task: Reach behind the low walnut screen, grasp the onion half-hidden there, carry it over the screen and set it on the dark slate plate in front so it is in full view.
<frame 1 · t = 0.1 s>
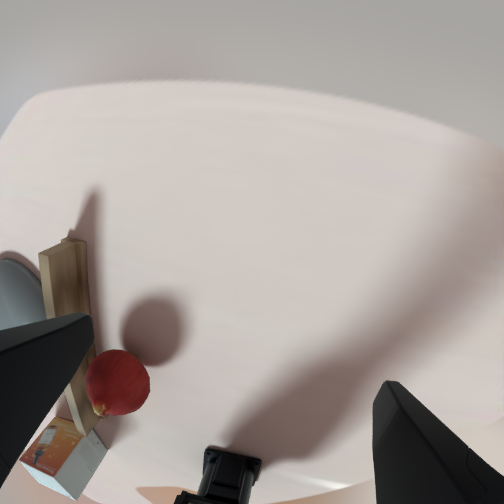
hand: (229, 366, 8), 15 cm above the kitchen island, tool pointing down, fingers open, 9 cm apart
walnut screen: (85, 342, 28), on the kitchen island
slate plate: (22, 315, 29), on the kitchen island
small box: (81, 432, 35), on the kitchen island
onion: (135, 358, 28), on the kitchen island
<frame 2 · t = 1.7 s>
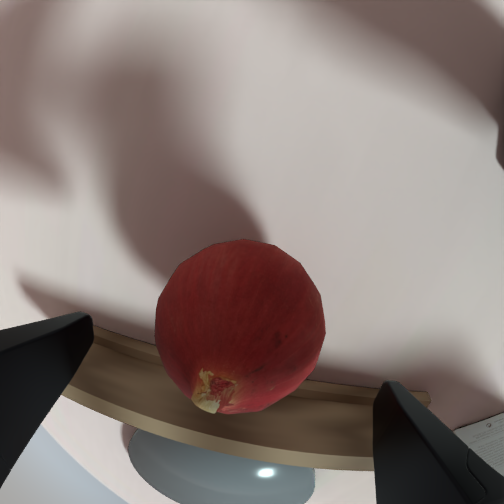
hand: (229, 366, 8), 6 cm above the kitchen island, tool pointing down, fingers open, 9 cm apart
walnut screen: (236, 383, 16), on the kitchen island
slate plate: (220, 472, 19), on the kitchen island
small box: (469, 448, 16), on the kitchen island
onion: (255, 283, 14), on the kitchen island
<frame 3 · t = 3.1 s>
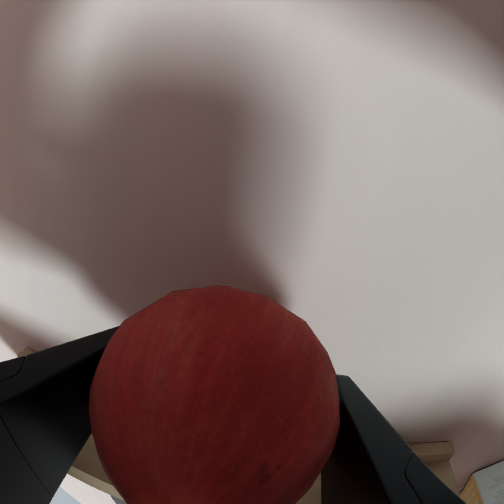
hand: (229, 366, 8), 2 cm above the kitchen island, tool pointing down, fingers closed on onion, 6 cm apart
walnut screen: (223, 438, 12), on the kitchen island
small box: (485, 484, 12), on the kitchen island
onion: (242, 328, 11), on the kitchen island, touching gripper
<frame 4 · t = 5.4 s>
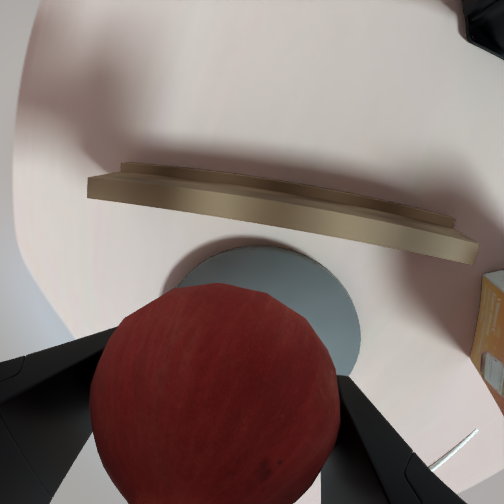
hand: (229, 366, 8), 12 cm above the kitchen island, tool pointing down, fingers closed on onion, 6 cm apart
walnut screen: (285, 200, 19), on the kitchen island
fork: (415, 474, 27), on the kitchen island
slate plate: (261, 338, 22), on the kitchen island
small box: (500, 311, 19), on the kitchen island
onion: (242, 326, 11), point 10 cm above the kitchen island, touching gripper
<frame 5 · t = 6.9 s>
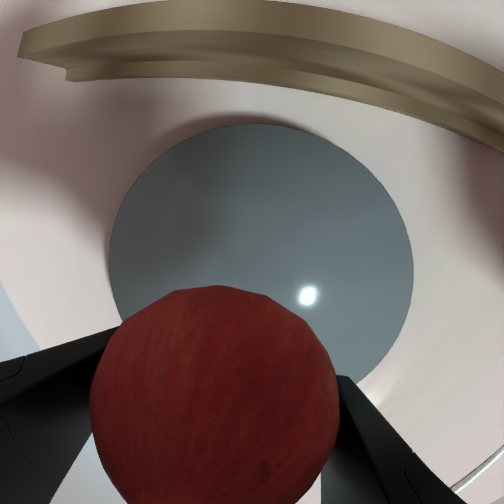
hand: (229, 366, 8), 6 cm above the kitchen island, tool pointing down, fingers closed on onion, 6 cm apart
walnut screen: (293, 62, 11), on the kitchen island
fork: (447, 487, 19), on the kitchen island
slate plate: (255, 285, 14), on the kitchen island
onion: (242, 328, 11), point 4 cm above the kitchen island, touching gripper
when the fingers open (4 cm above the kitchen island, at t = 8.1 s): onion drops 1 cm, resting on slate plate.
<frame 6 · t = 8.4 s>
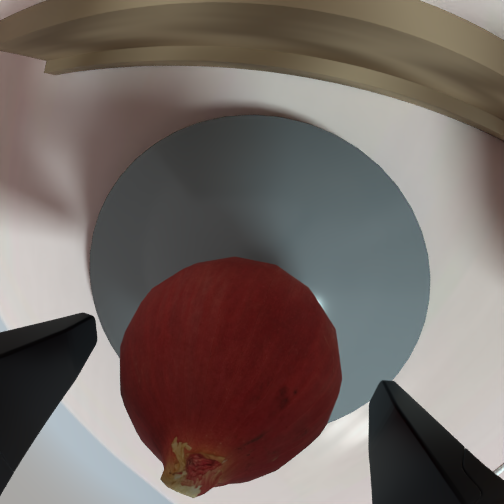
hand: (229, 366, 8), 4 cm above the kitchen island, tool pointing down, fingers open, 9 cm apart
walnut screen: (294, 46, 10), on the kitchen island
slate plate: (251, 300, 13), on the kitchen island
onion: (249, 311, 12), point 1 cm above the kitchen island, touching slate plate
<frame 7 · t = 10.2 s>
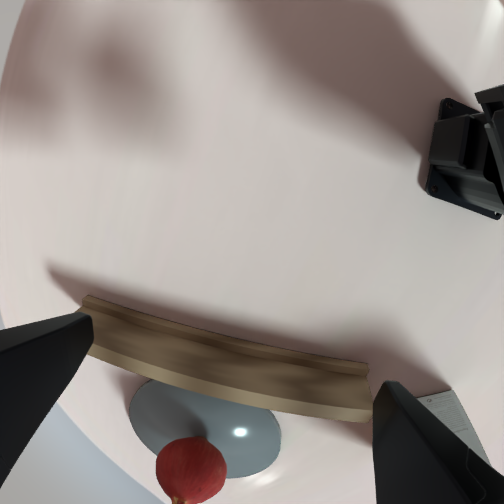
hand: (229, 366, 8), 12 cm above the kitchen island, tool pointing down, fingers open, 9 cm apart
walnut screen: (217, 347, 22), on the kitchen island
slate plate: (203, 431, 25), on the kitchen island
small box: (417, 423, 23), on the kitchen island
onion: (202, 437, 24), point 1 cm above the kitchen island, touching slate plate
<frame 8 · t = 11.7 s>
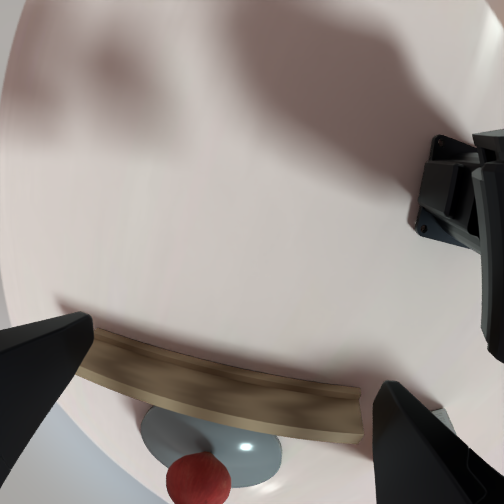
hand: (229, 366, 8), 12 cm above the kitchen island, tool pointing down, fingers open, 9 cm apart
walnut screen: (219, 375, 23), on the kitchen island
slate plate: (210, 446, 26), on the kitchen island
onion: (209, 452, 26), point 1 cm above the kitchen island, touching slate plate
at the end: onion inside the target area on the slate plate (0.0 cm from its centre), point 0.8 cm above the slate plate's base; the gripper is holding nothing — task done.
